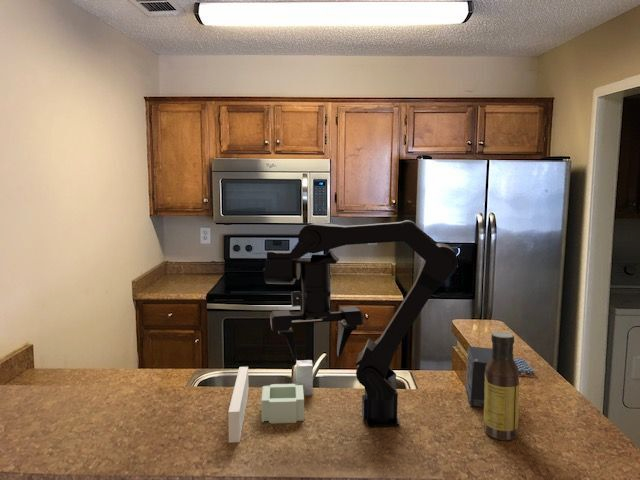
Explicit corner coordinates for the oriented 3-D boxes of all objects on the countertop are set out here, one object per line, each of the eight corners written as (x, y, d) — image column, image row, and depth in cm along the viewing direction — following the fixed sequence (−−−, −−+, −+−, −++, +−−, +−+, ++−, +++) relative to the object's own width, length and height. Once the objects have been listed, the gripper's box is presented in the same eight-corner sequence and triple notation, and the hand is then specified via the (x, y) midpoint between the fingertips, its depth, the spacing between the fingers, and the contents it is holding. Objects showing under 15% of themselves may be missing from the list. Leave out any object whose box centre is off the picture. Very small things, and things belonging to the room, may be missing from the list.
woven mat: (494, 377, 120) (494, 369, 120) (485, 362, 130) (485, 355, 130) (537, 379, 118) (537, 371, 118) (524, 364, 129) (525, 357, 129)
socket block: (302, 403, 103) (302, 383, 103) (304, 422, 95) (304, 401, 94) (263, 404, 103) (263, 384, 102) (261, 423, 94) (261, 402, 94)
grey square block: (311, 388, 111) (311, 360, 110) (312, 395, 107) (312, 365, 107) (296, 389, 111) (296, 360, 110) (296, 395, 107) (296, 366, 106)
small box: (501, 411, 100) (503, 363, 99) (469, 408, 102) (471, 361, 101) (493, 390, 111) (495, 347, 110) (464, 387, 112) (466, 345, 111)
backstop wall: (248, 391, 109) (248, 366, 108) (239, 442, 87) (239, 411, 87) (239, 391, 109) (239, 366, 108) (228, 442, 87) (228, 411, 86)
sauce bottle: (499, 422, 95) (503, 327, 93) (524, 437, 90) (530, 336, 88) (475, 429, 92) (479, 331, 90) (500, 445, 87) (505, 340, 85)
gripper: (350, 275, 105) (351, 342, 107) (267, 279, 102) (269, 349, 104) (363, 285, 95) (364, 360, 96) (271, 290, 91) (273, 367, 93)
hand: (317, 358), depth 98 cm, fingers open, 9 cm apart
